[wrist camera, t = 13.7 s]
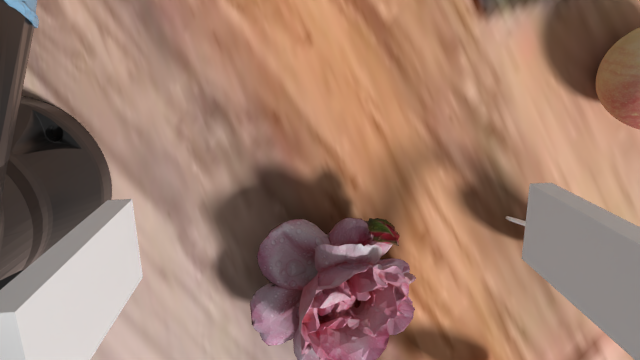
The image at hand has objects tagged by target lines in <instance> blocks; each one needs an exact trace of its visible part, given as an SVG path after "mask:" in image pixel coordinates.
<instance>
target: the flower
mask: <svg viewBox="0 0 640 360" xmlns="http://www.w3.org/2000/svg"><path fill="white" fill-rule="evenodd" d="M398 238H399V234H398V233H397V232H396V231H395V227H394V226H393V225H392V224H391V223H389V222H388V221H386V220H383V219H378V218H376V219H370V218H369V221H367V222H366V221H364V220H362V219H355V218H345V219H342V220H341V221H339V222H338V223H336V224H335V226H334V227H333V229H332V230H331V231H330V232H329V233H328V234H325V233H324V232H323V231H322V230H320V229H319V228H318V227H317V226H316V225H315V224H313V223H311V222H309V221H307V220H305V219H293V220H290V221H287V222H284V223H282V224H280V225H279V226H277V227H276V228H274V229H272V230H271V231H270V233H269V234H268V236H267V237H266V238H265V239H264V241H263V242H262V243H261V244H260V247H259V251H258V254H257V259H258V264H259V267H260V270H261V272H262V274H263V275H264V276H265V277H266V278H267V279H268V280H269V281H270V282H271V283H269V284H267V285H265V286H263V287H262V288H260V289H259V290H257V291H256V293H255V294H254V295H253V299H252V300H251V302H250V307H251V318H252V325H253V327H254V329H255V330H256V331H257V332H259V333H260V335H261V338H262V340H263V341H264V342H265V343H266V344H267V345H269V346H271V345H278V344H283V343H284V342H286V341H288V340H291V339H293V338H294V339H293V342H294V353H295V355H296V357H297V359H298V360H376V359H377V358H379V357H380V355H381V354H382V352H383V351H384V350H385V349H386V346H387V343H388V339H389V335H396V334H398V333H400V332H402V331H404V330H405V328H406V327H407V326H408V325H409V323H410V322H411V320H412V319H413V312H414V310H415V308H414V307H413V306H412V301H411V299H410V298H409V297H408V293H409V284H410V283H412V282H413V281H414V280H415V279H416V277H415V276H414V275H412V274H410V273H409V270H410V268H409V265H408V263H406V262H405V261H403V260H400V259H394V258H389V259H382V260H380V258H381V257H382V256H383V255H384V254H386V252H387V251H388V250H389V249H390V247H391V246H392V245H393V244H395V245H398V243H399V241H398ZM398 246H399V245H398Z"/></svg>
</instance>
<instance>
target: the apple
mask: <svg viewBox="0 0 640 360" xmlns="http://www.w3.org/2000/svg"><path fill="white" fill-rule="evenodd" d="M596 92H597V95H598V98H599V100H600V102H601V103H602V105H603V106H604V108H605V109H606V110H607V111H608V112H609V113H610V114H611V115H612V116H613V117H615V118H616V119H618V120H619V121H621V122H623V123H624V124H626V125H629V126H631V127H633V128H636V129H640V27H639V28H637V29H635V30H633V31H631V32H630V33H628V34H627V35H625V36H624V37H622V38H621V39H620V40H618V41H617V42H616V43H615V44H614V45H613V46H612V47H611V48H610V49H609V50H608V52H607V53H606V54H605V56H604V58H603V59H602V61H601V63H600V65H599V68H598V72H597V75H596Z"/></svg>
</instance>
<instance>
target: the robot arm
mask: <svg viewBox="0 0 640 360" xmlns="http://www.w3.org/2000/svg"><path fill="white" fill-rule="evenodd" d="M36 5H37V0H0V360H90V359H91V358H92V356H93V355H94V353H95V351H96V350H97V348H98V347H99V345H100V344H101V342H102V340H103V339H104V337H105V336H106V334H107V333H108V331H109V329H110V328H111V326H112V325H113V323H114V322H115V320H116V318H117V317H118V315H119V314H120V312H121V311H122V309H123V307H124V306H125V304H126V303H127V301H128V300H129V298H130V296H131V295H132V293H133V292H134V290H135V289H136V287H137V285H138V284H139V282H140V281H141V279H142V278H143V275H142V268H141V260H140V253H139V246H138V239H137V231H136V224H135V217H134V209H133V202H132V199H124V200H111V197H112V184H111V177H110V172H109V168H108V165H107V162H106V160H105V157H104V155H103V153H102V151H101V149H100V148H99V146H98V144H97V143H96V141H95V140H94V139H93V137H92V136H91V135H90V134H89V133H88V131H87V130H86V129H85V128H84V127H83V126H82V125H81V124H80V123H78V122H77V121H76V120H75V119H74V118H72V117H71V116H69V115H68V114H67V113H65V112H63V111H62V110H60V109H58V108H56V107H54V106H52V105H50V104H48V103H45V102H42V101H39V100H36V99H32V98H28V97H22V96H21V94H22V89H23V84H24V78H25V73H26V68H27V63H28V58H29V53H30V47H31V42H32V37H33V32H34V28H38V24H39V20H38V16H37V15H36ZM522 259H523V260H524V261H525V262H526V263H527V264H528V265H529V266H531V267H532V268H533V269H534V270H535V271H536V272H537V273H538V274H540V275H541V276H542V277H543V278H544V279H545V280H546V281H547V282H549V283H550V284H551V285H552V286H553V287H554V288H555V289H556V290H557V291H559V292H560V293H561V294H562V295H563V296H564V297H565V298H566V299H568V300H569V301H570V302H571V303H572V304H573V305H574V306H575V307H577V308H578V309H579V310H580V311H581V312H582V313H583V314H584V315H585V316H587V317H588V318H589V319H590V320H591V321H592V322H593V323H594V324H596V325H597V326H598V327H599V328H600V329H601V330H602V331H603V332H605V333H606V334H607V335H608V336H609V337H610V338H611V339H612V340H613V341H615V342H616V343H617V344H618V345H619V346H620V347H621V348H622V349H624V350H625V351H626V352H627V353H628V354H629V355H630V356H631V357H633V358H634V359H635V360H640V227H638V226H636V225H634V224H632V223H630V222H628V221H626V220H624V219H622V218H620V217H618V216H617V215H615V214H613V213H611V212H609V211H607V210H605V209H603V208H601V207H599V206H597V205H595V204H593V203H591V202H589V201H587V200H585V199H583V198H581V197H579V196H577V195H575V194H573V193H571V192H569V191H567V190H565V189H563V188H561V187H559V186H557V185H555V184H553V183H536V184H530V187H529V196H528V206H527V215H526V224H525V233H524V243H523V252H522Z"/></svg>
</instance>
